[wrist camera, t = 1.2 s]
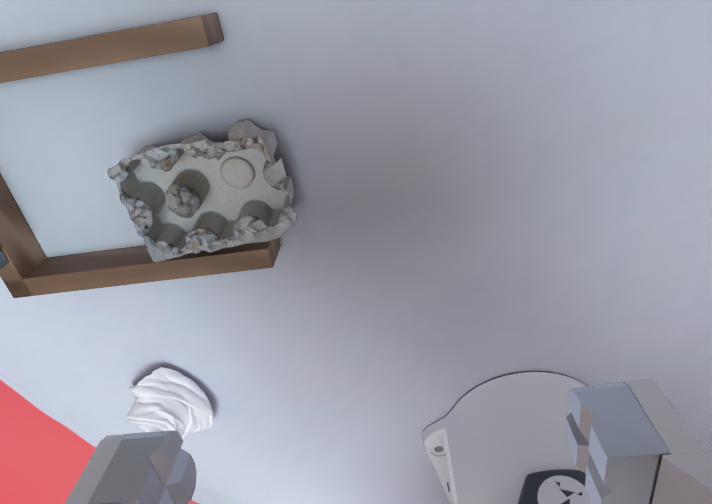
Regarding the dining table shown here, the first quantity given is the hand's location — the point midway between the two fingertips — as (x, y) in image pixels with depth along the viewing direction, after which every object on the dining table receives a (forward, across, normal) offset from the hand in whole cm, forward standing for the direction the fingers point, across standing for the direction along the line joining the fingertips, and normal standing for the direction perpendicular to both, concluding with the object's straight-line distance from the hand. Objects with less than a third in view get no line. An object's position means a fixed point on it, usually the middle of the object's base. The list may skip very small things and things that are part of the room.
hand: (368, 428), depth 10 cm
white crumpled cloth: (+25, +22, +22) cm, 40 cm away
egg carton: (+26, +12, 0) cm, 28 cm away
